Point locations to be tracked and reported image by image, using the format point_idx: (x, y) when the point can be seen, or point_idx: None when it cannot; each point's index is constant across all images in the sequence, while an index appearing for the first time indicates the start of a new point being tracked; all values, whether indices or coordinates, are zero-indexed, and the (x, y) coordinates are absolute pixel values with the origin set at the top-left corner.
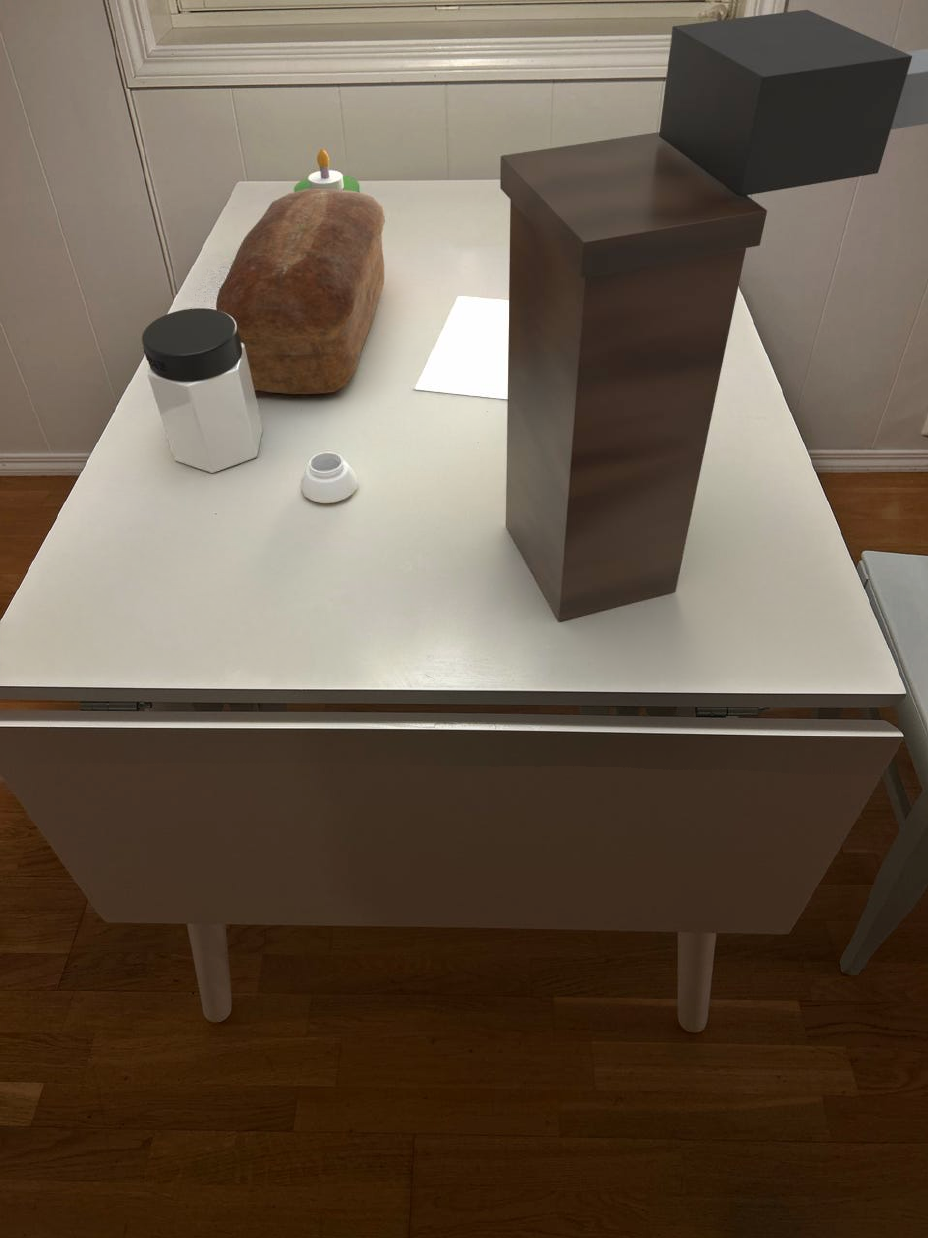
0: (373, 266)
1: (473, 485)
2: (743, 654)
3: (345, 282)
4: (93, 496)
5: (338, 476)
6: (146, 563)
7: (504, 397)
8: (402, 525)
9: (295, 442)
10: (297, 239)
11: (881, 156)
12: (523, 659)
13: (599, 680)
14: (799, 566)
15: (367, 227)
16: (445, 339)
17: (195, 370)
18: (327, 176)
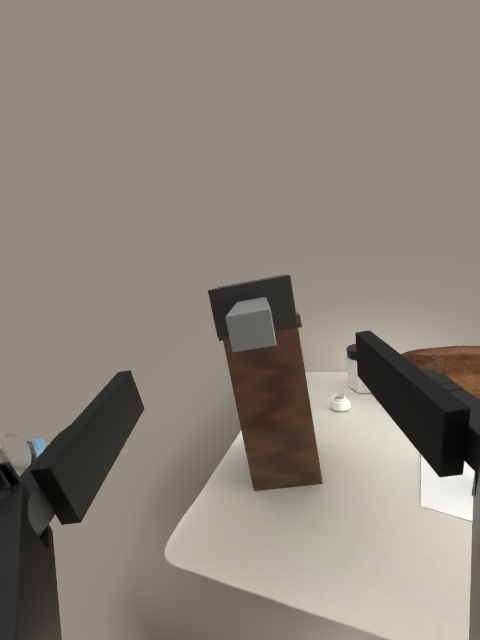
0: None
1: (339, 439)
2: (211, 503)
3: (425, 369)
4: (340, 373)
5: (334, 401)
6: (309, 383)
7: (422, 457)
8: (316, 421)
9: (370, 400)
10: (448, 352)
11: (216, 330)
12: (243, 442)
13: (225, 458)
14: (247, 557)
15: None
16: None
17: (347, 354)
18: None
